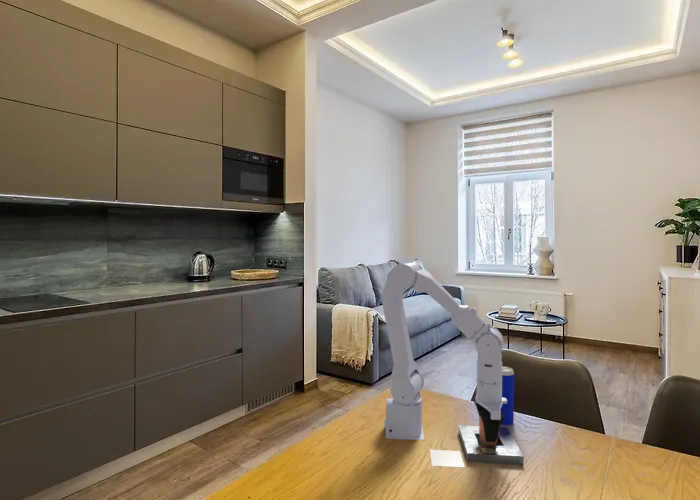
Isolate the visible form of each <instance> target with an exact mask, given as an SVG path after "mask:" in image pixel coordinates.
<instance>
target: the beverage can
mask: <svg viewBox="0 0 700 500" xmlns="http://www.w3.org/2000/svg"><path fill="white" fill-rule="evenodd" d="M514 371H515V370H513V368H512V367H509V366H505V365H504V366H503V365H502V398H506V399H507V403H506V404H502V407H501V410H500V411H501V413H504V415H505V419H504V421H503V422H502V424H501V426H504V427H507V426H512V425H513V424H514V418H515V417H514V415H515V414H514V413H515V412H514V411H515V410H514V409H515V407H514V405H515V403H514V401H515V400H514V399H515V372H514Z"/></svg>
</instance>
